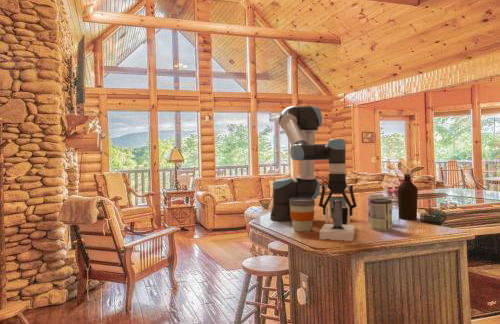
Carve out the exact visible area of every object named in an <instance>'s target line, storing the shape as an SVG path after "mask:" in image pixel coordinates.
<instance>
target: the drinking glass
mask: <svg viewBox="0 0 500 324" xmlns="http://www.w3.org/2000/svg"><path fill="white" fill-rule="evenodd" d="M333 200H342V206H347V202H346V201H345V199H344V197H343V196H331V198H330V200H329V202H328V203H329V212H330V213H329V215H330V218H331V219H333V217H332V209H331V207H332V206H333Z"/></svg>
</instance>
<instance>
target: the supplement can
mask: <svg viewBox="0 0 500 324" xmlns="http://www.w3.org/2000/svg"><path fill="white" fill-rule="evenodd" d="M372 199H385V196H384V194H383V193H369V195H368V199H367V201H368V202H367V203H368V205H367V206H368V207H367V209H368V211H367V214H368V221H369V223H371V221H370V200H372Z"/></svg>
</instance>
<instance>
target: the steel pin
mask: <svg viewBox="0 0 500 324" xmlns="http://www.w3.org/2000/svg"><path fill="white" fill-rule="evenodd" d="M332 222H333V223H332V224H333V229H342V200H333V218H332Z"/></svg>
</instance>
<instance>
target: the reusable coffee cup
mask: <svg viewBox="0 0 500 324" xmlns="http://www.w3.org/2000/svg"><path fill="white" fill-rule="evenodd" d="M315 201H316V200H315V199H311V198H293V199H290V203H289V205H290V209H291V210H290V215H291V222H292V223H291V224H292V229H293V231H295V232H303V231H304V232H311V231H312V229H313V227H312V226H313V221H314V218H315V206H316V203H315Z"/></svg>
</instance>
